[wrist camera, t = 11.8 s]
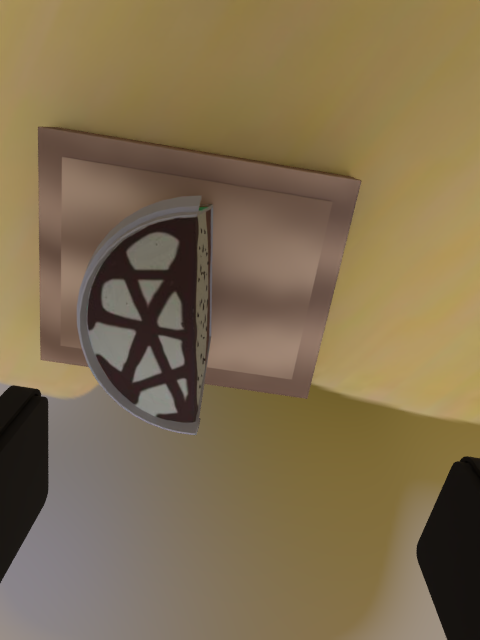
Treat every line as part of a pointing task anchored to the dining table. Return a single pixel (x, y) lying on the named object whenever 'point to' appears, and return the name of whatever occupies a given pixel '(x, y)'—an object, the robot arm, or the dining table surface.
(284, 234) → the board
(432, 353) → the dining table surface
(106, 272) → the food container
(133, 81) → the dining table surface
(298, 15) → the dining table surface
